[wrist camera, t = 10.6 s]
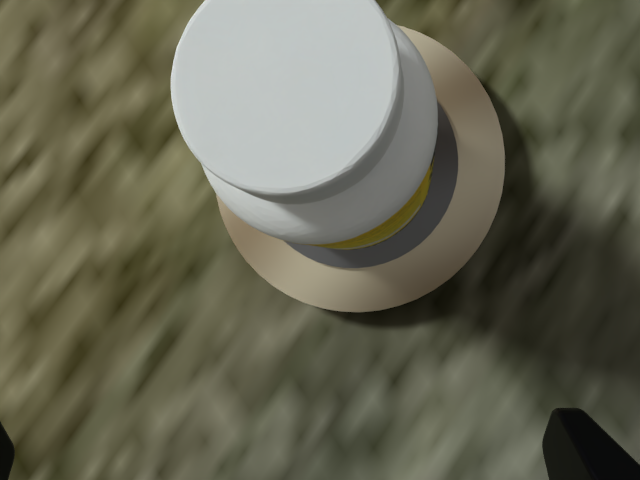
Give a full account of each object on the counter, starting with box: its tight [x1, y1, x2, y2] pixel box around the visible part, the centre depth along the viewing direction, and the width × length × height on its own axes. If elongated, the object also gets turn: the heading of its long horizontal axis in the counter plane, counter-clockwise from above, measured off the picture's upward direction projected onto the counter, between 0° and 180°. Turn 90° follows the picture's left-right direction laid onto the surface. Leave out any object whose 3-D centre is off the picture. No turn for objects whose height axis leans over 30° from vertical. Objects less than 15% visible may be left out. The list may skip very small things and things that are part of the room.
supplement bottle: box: [171, 0, 439, 250], centre depth 14 cm, size 5×5×10 cm
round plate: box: [216, 25, 505, 312], centre depth 20 cm, size 10×10×1 cm
